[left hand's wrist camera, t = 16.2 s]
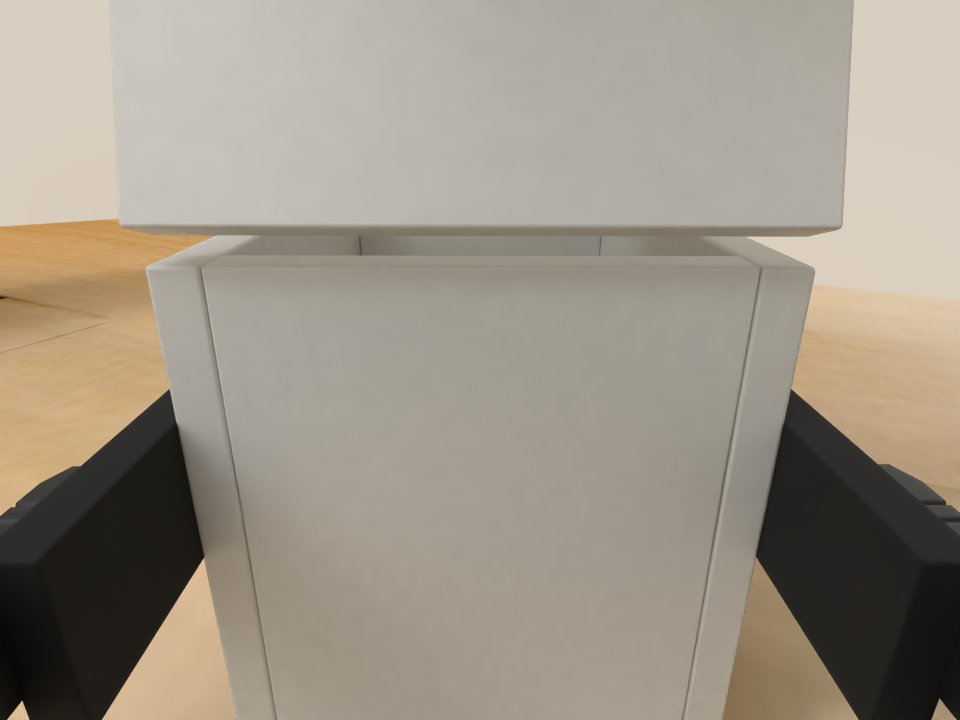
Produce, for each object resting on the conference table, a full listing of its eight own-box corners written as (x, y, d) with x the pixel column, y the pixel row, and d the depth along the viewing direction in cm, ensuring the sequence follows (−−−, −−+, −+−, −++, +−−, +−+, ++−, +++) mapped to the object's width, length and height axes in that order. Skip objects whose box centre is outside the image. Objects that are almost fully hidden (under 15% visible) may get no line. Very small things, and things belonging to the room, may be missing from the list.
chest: (358, 455, 25) (335, 181, 21) (601, 455, 25) (624, 181, 21) (245, 768, 13) (142, 266, 9) (713, 769, 13) (818, 266, 9)
